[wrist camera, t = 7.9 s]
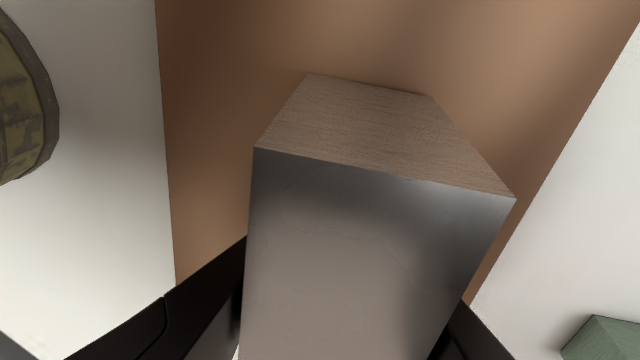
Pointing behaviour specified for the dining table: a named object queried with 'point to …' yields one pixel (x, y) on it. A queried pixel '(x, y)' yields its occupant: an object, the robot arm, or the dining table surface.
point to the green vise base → (604, 341)
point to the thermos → (24, 106)
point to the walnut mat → (376, 70)
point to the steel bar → (362, 225)
